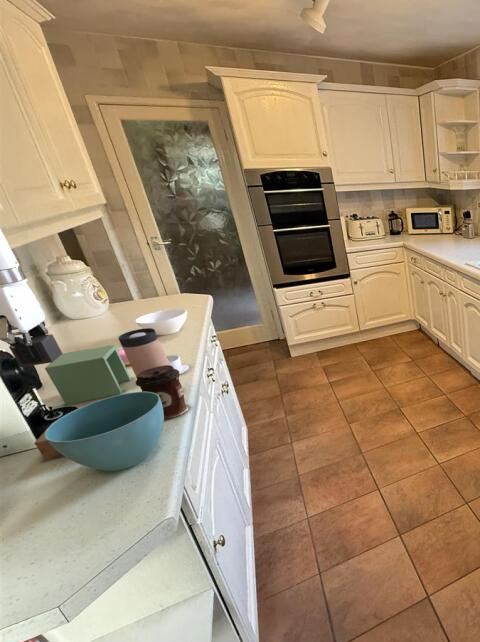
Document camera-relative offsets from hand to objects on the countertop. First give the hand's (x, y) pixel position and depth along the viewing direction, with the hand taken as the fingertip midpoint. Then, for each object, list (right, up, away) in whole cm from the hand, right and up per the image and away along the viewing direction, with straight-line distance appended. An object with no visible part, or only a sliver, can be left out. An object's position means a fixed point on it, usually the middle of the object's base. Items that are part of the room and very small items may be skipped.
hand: (40, 356), depth 88 cm
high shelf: (-18, -12, +30) cm, 37 cm away
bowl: (-34, +6, +72) cm, 80 cm away
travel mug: (+5, -13, +26) cm, 30 cm away
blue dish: (+18, -24, +2) cm, 30 cm away
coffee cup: (+14, -17, +18) cm, 28 cm away
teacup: (-5, -8, +39) cm, 40 cm away
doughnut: (-26, -4, +49) cm, 55 cm away
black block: (0, -1, 0) cm, 1 cm away
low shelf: (+2, -21, +8) cm, 23 cm away
